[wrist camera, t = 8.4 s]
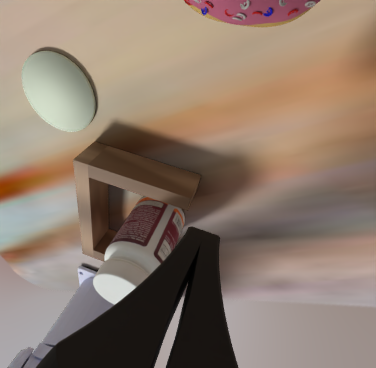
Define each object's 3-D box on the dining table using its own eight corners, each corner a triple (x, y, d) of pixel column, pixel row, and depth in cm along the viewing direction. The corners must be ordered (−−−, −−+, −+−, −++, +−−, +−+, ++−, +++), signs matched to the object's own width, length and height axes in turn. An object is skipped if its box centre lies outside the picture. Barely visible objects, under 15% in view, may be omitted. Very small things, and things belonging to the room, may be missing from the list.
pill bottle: (129, 212, 27) (78, 286, 20) (151, 183, 24) (100, 259, 17) (169, 239, 28) (133, 320, 21) (196, 214, 25) (162, 299, 18)
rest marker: (96, 138, 23) (95, 140, 23) (32, 118, 24) (29, 119, 23) (94, 62, 19) (91, 64, 19) (17, 41, 20) (14, 41, 20)
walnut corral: (179, 261, 29) (169, 286, 27) (98, 232, 30) (82, 253, 28) (201, 175, 22) (190, 198, 20) (94, 141, 23) (73, 159, 21)
